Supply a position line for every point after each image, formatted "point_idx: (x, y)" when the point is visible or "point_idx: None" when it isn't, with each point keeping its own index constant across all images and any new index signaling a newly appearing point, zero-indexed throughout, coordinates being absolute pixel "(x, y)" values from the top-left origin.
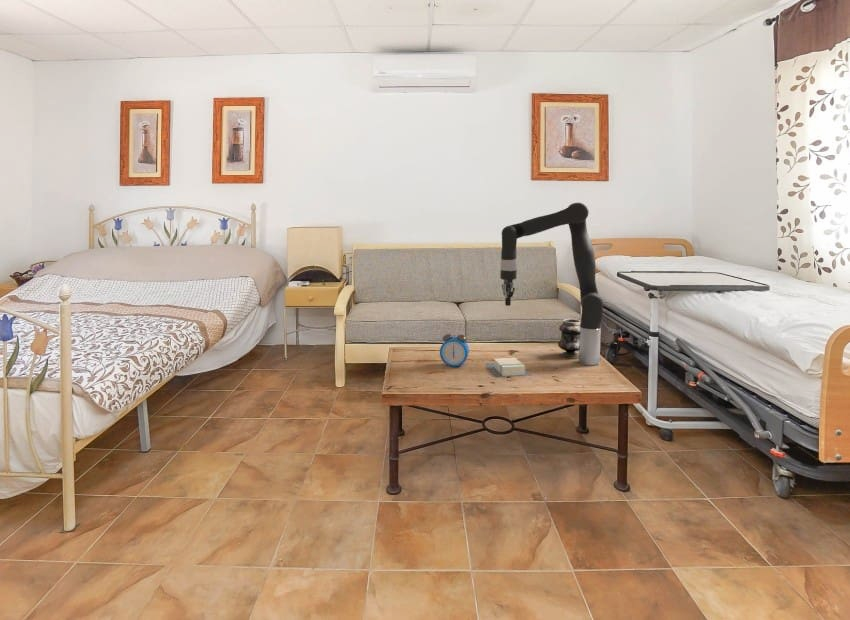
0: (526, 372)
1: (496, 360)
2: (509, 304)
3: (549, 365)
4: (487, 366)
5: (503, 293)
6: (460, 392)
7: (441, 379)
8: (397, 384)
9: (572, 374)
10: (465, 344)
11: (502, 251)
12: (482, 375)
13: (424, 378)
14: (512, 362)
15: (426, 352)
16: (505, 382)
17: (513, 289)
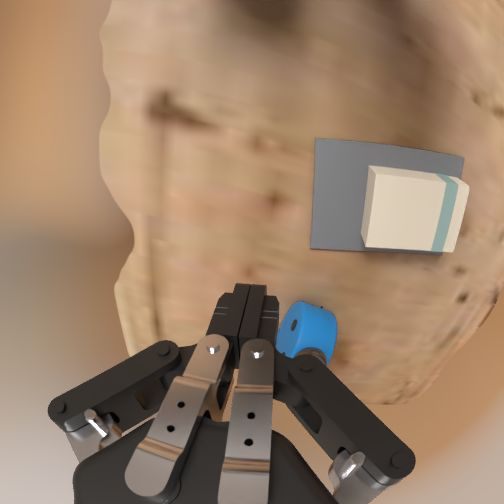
0: (439, 161)
1: (387, 246)
2: (276, 301)
3: (372, 43)
4: (348, 248)
5: (160, 387)
6: (467, 333)
7: (391, 351)
8: (381, 398)
9: (468, 37)
10: (320, 343)
11: None
12: (407, 277)
13: (371, 372)
14: (425, 207)
15: (175, 337)
16: (472, 244)
17: (406, 458)
